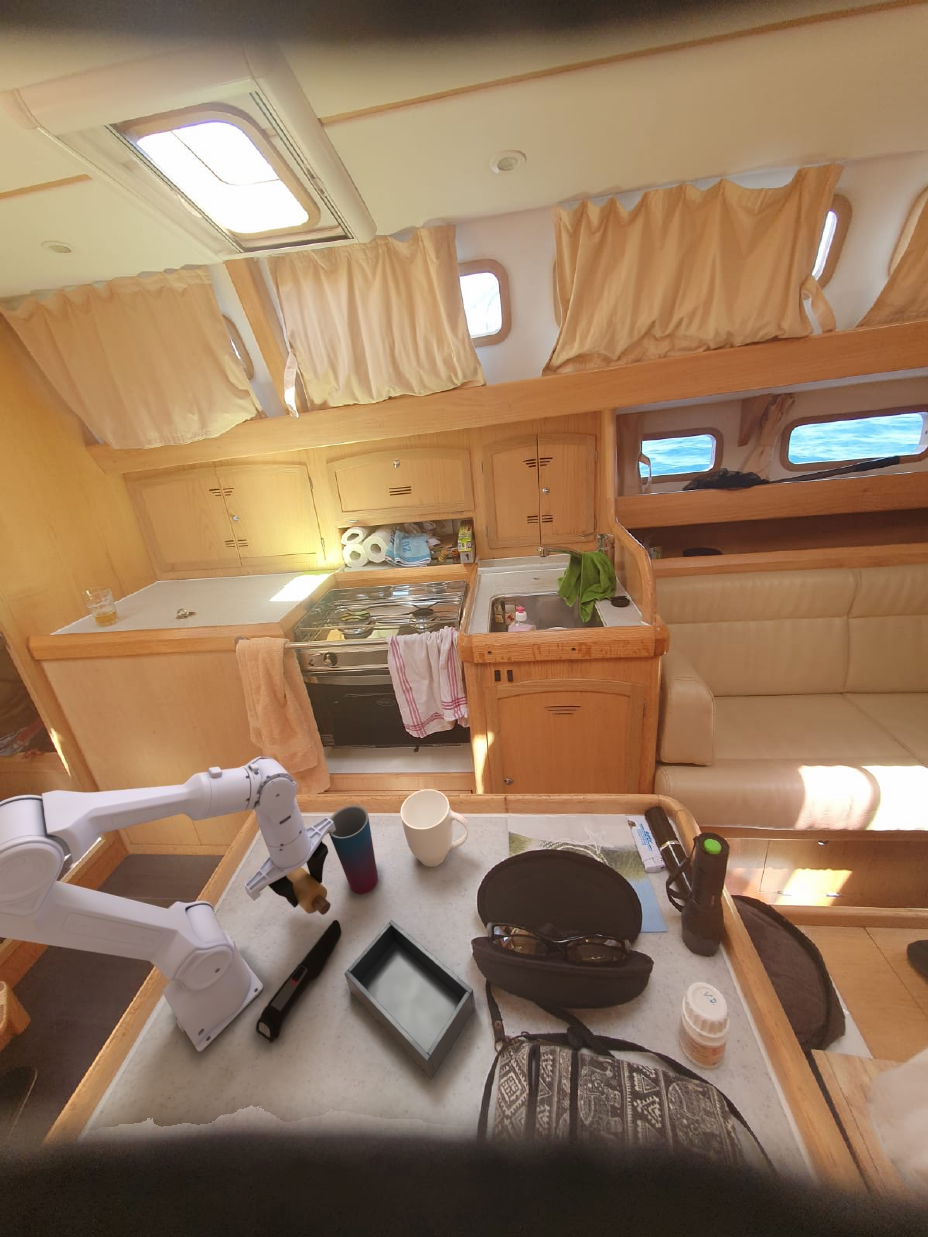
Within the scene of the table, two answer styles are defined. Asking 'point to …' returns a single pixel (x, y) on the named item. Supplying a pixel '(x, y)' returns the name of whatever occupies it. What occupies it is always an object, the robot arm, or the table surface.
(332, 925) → the electric trimmer
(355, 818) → the cup
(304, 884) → the rolling pin
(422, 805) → the mug
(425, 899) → the table surface
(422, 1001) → the tin
